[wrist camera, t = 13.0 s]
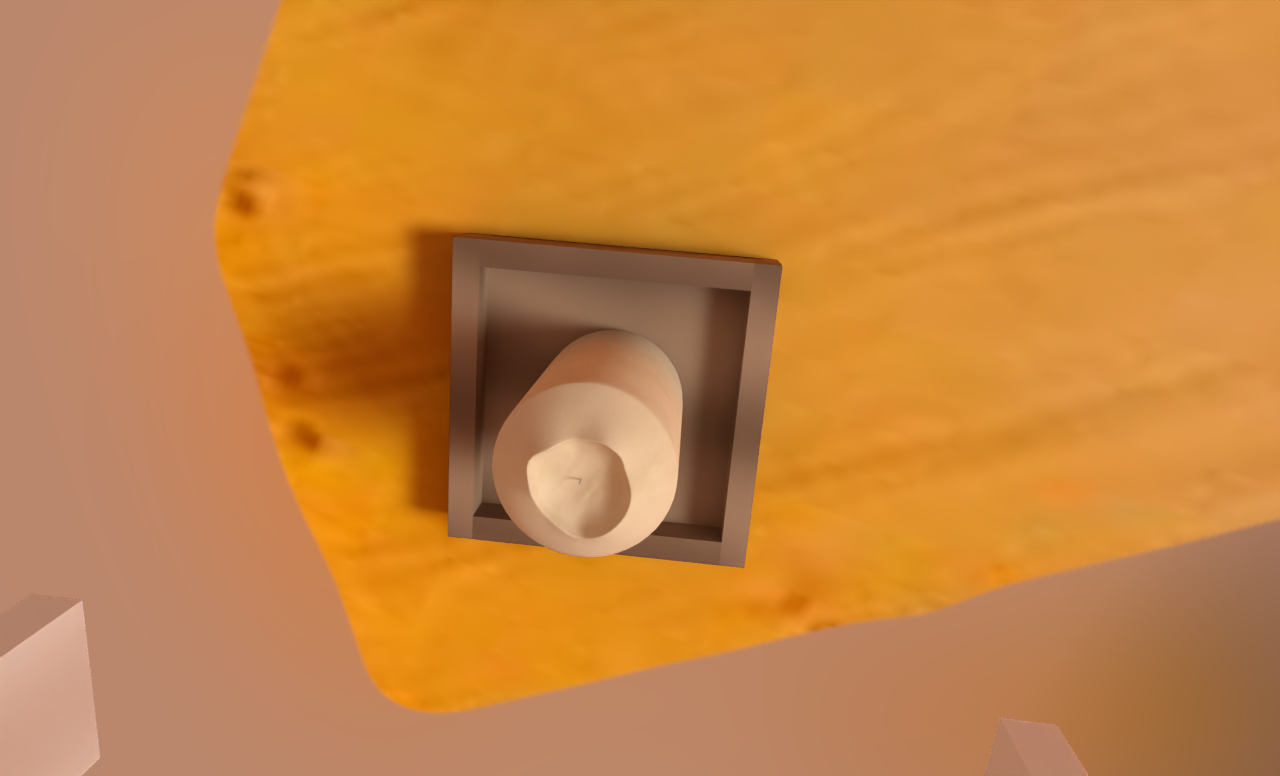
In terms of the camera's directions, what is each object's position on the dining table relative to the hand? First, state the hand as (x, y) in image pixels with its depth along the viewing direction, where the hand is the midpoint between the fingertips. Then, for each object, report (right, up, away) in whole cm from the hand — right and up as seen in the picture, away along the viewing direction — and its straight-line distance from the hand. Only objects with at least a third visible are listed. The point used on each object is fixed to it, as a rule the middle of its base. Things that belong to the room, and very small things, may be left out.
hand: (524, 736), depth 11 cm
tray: (0, +5, +21) cm, 21 cm away
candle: (+1, +5, +20) cm, 21 cm away
